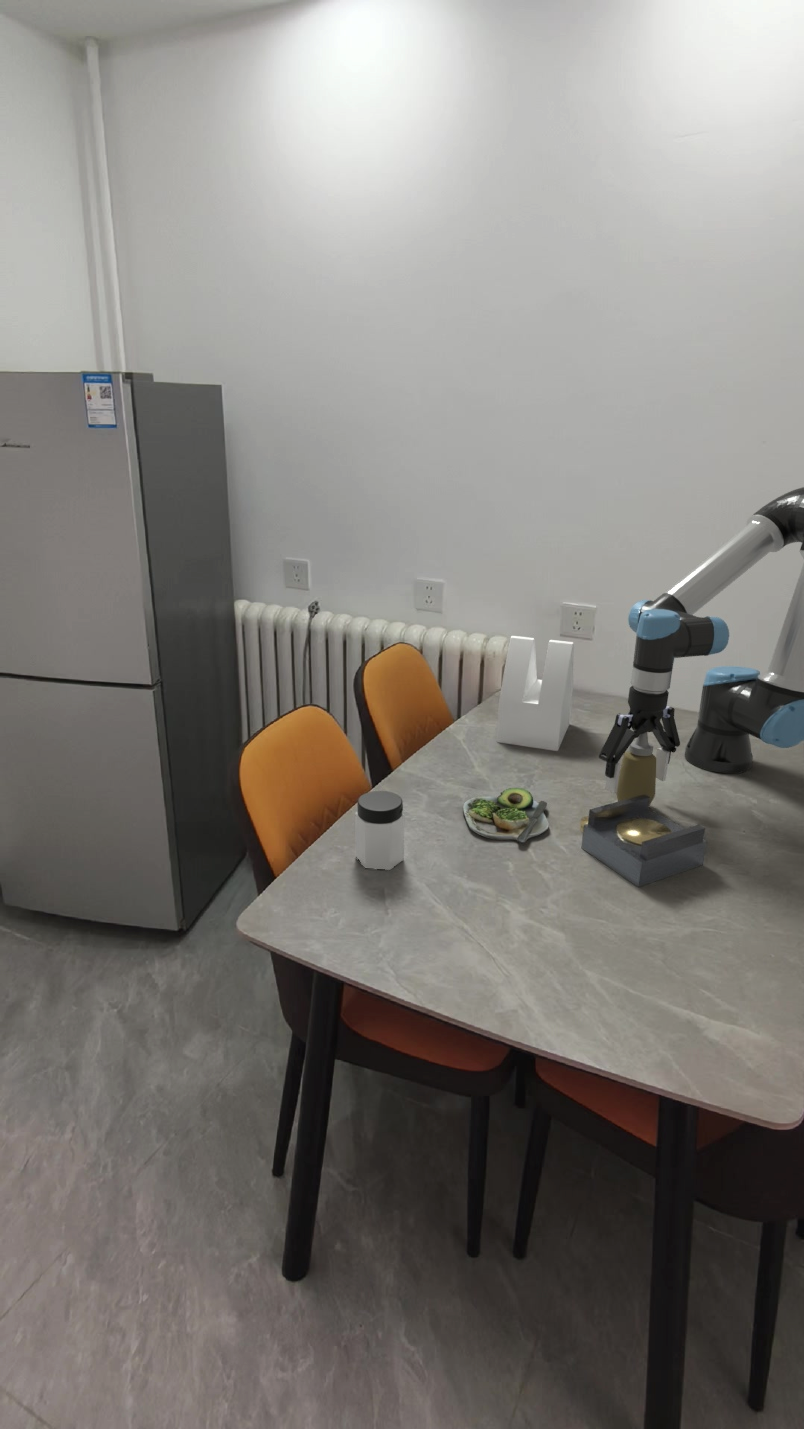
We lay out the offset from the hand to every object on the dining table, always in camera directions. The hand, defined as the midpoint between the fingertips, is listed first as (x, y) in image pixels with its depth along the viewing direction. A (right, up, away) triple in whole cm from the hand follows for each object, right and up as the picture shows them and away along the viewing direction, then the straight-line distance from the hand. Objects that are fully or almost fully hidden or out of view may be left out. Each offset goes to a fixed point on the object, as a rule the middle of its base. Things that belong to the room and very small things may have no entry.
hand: (635, 784), depth 165 cm
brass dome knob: (-10, -9, -8) cm, 15 cm away
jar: (-53, -12, -19) cm, 57 cm away
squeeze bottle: (0, -5, +2) cm, 6 cm away
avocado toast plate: (-27, -7, -4) cm, 29 cm away
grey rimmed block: (-4, -12, -17) cm, 21 cm away
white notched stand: (-14, +10, +40) cm, 44 cm away
